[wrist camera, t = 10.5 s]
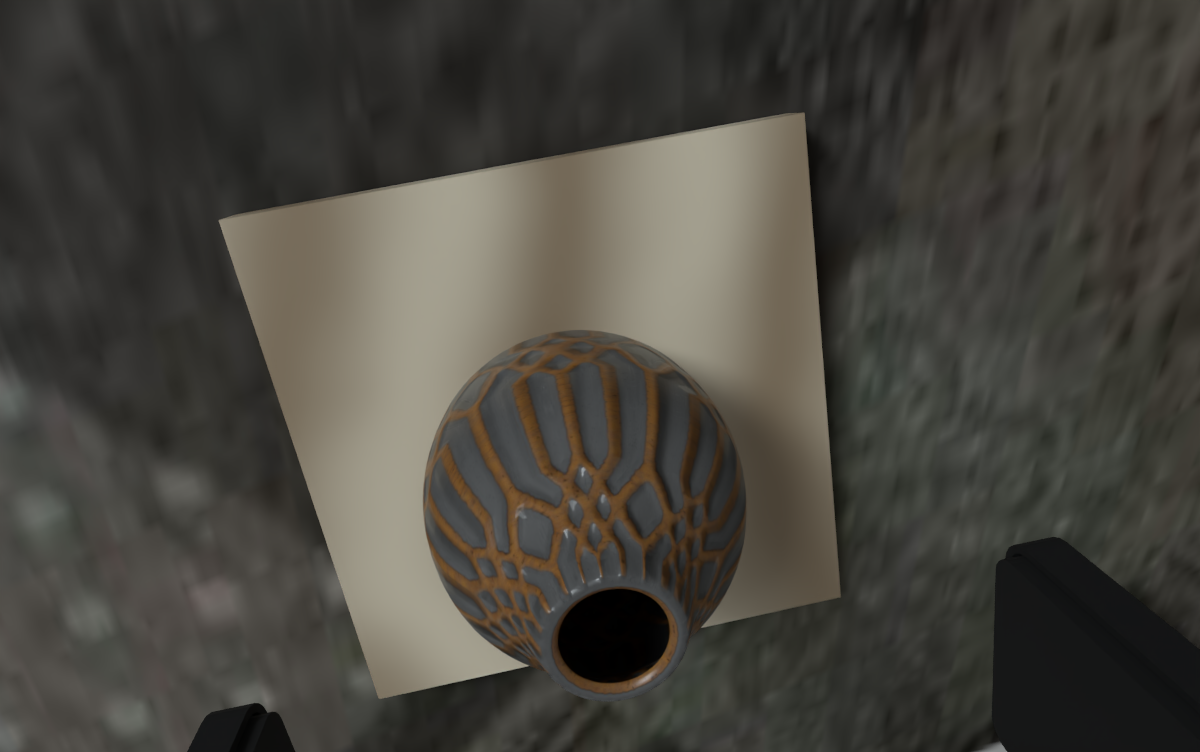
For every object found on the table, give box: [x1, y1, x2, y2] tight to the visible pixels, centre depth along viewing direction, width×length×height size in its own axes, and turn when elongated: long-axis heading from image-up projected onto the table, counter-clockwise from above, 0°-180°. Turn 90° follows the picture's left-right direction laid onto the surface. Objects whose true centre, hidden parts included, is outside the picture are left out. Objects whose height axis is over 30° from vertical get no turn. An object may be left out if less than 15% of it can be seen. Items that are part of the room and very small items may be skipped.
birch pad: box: [219, 113, 841, 699], centre depth 21 cm, size 14×14×1 cm
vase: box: [423, 330, 747, 701], centre depth 16 cm, size 7×7×9 cm
